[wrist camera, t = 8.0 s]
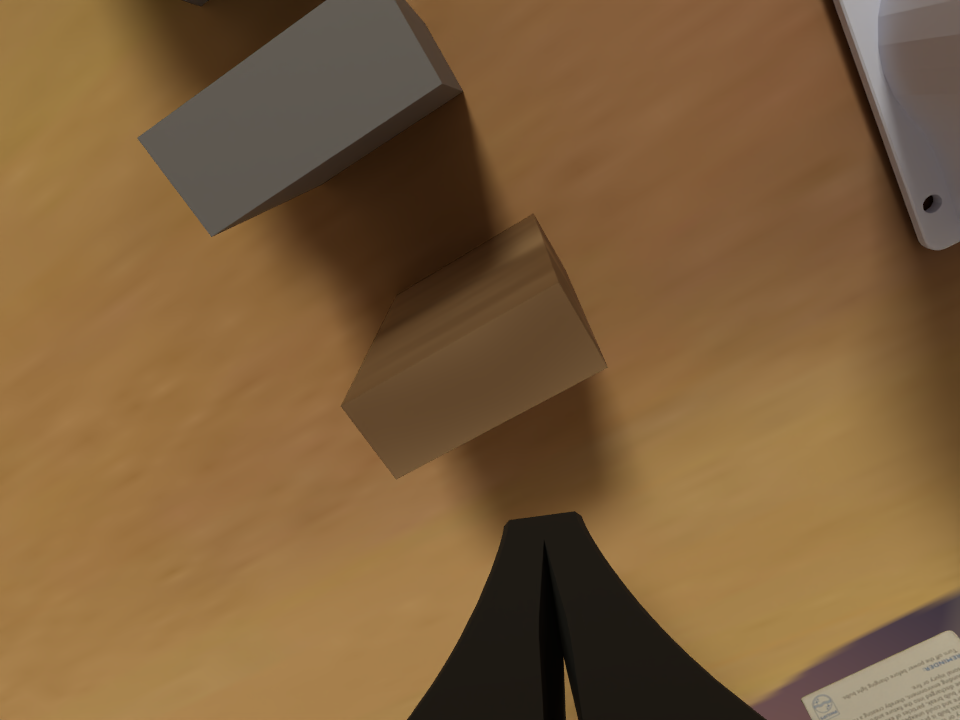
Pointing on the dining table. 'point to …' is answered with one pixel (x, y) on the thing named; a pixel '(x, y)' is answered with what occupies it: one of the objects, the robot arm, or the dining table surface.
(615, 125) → the dining table surface
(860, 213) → the dining table surface
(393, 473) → the tile
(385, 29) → the grey rectangular block
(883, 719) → the light bulb box
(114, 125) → the dining table surface
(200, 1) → the tile
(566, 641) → the robot arm
